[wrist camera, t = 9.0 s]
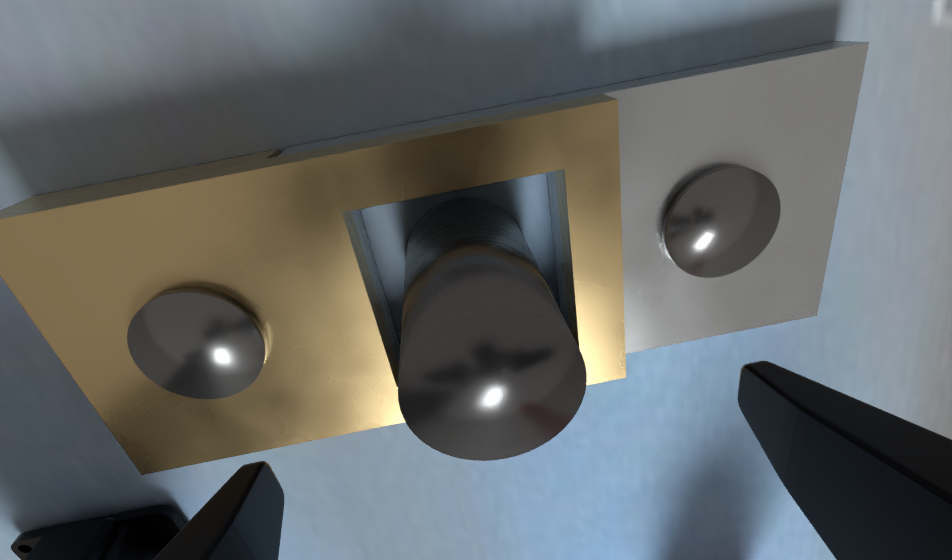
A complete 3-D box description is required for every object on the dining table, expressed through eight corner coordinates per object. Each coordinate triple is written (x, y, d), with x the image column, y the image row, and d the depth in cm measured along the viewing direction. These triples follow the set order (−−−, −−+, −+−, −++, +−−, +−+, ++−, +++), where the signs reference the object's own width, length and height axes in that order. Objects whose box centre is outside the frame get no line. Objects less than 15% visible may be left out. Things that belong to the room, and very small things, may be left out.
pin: (530, 294, 17) (591, 440, 11) (420, 316, 17) (421, 475, 11) (516, 187, 16) (580, 291, 9) (393, 211, 16) (375, 332, 9)
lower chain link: (794, 299, 19) (824, 321, 17) (369, 384, 18) (365, 413, 17) (836, 41, 14) (881, 42, 13) (287, 147, 14) (272, 160, 13)
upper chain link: (602, 337, 19) (630, 384, 16) (173, 423, 18) (135, 484, 16) (588, 89, 14) (623, 101, 12) (33, 196, 14) (-49, 232, 12)
